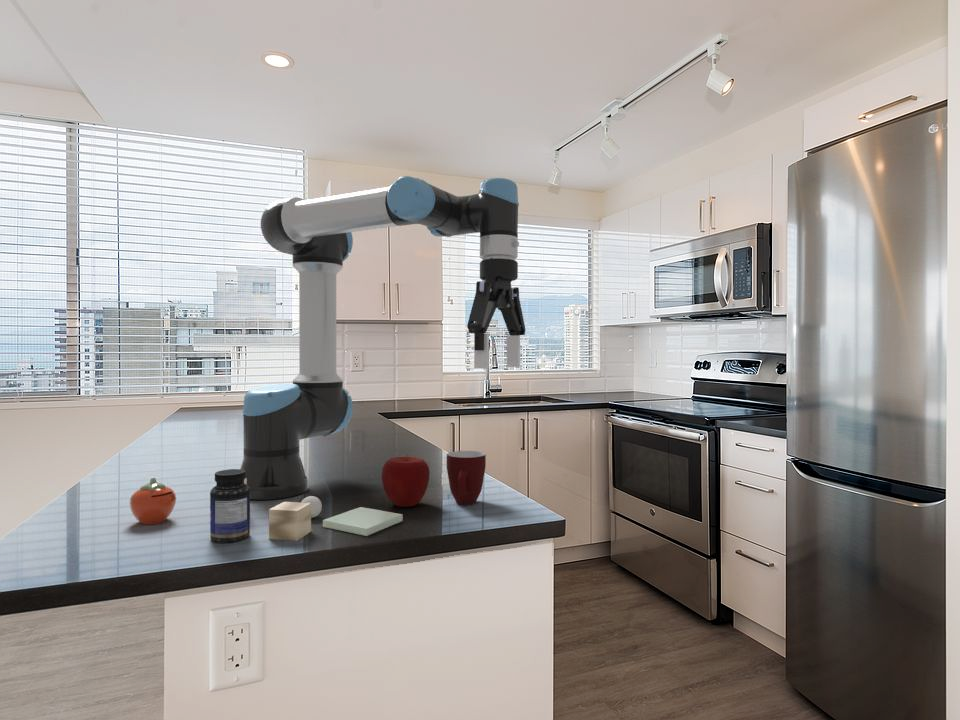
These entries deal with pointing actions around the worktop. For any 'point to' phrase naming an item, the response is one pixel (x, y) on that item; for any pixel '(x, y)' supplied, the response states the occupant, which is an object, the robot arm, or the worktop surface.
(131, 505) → the tomato
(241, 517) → the pill bottle
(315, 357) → the robot arm
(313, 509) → the grey ball
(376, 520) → the coaster
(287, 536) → the maple block
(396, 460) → the apple
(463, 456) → the mug
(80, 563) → the worktop surface
